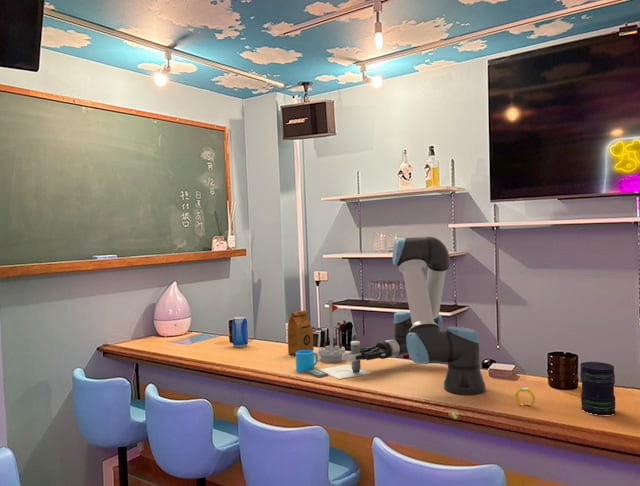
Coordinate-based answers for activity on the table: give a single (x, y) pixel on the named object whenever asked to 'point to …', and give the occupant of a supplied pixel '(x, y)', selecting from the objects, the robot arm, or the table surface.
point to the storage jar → (597, 388)
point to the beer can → (240, 332)
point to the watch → (527, 391)
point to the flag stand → (331, 341)
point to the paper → (343, 372)
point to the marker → (355, 350)
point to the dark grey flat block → (317, 373)
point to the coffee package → (299, 332)
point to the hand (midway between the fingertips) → (345, 357)
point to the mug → (305, 360)
